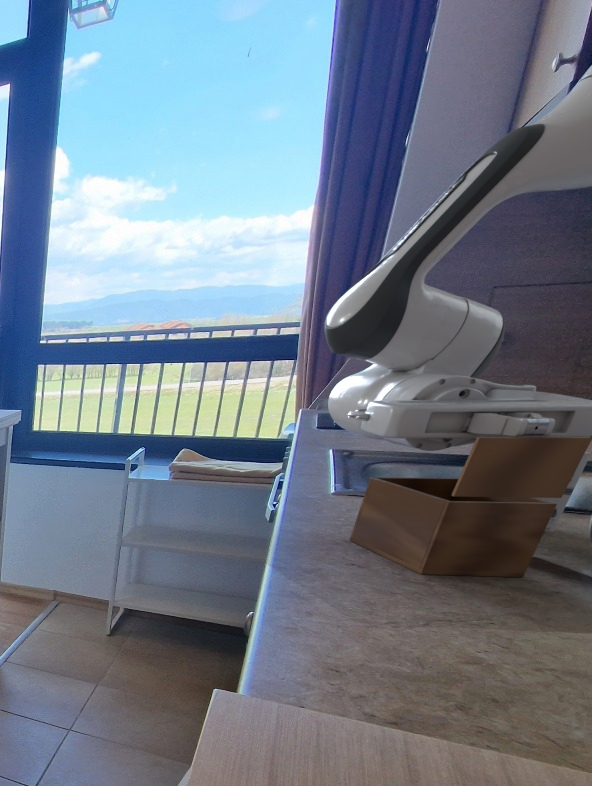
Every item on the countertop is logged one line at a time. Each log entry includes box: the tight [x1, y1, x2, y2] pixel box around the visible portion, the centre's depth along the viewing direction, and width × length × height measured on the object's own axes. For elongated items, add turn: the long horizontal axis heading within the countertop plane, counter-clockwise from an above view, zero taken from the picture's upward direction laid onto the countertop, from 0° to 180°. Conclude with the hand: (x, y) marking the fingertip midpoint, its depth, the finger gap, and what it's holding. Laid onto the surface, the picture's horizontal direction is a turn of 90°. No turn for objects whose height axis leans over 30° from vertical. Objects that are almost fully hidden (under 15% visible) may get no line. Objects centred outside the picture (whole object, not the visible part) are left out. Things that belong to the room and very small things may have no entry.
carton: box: [348, 476, 557, 578], centre depth 75 cm, size 10×13×8 cm
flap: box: [451, 436, 592, 498], centre depth 66 cm, size 10×6×1 cm
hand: (536, 428), depth 64 cm, fingers closed
